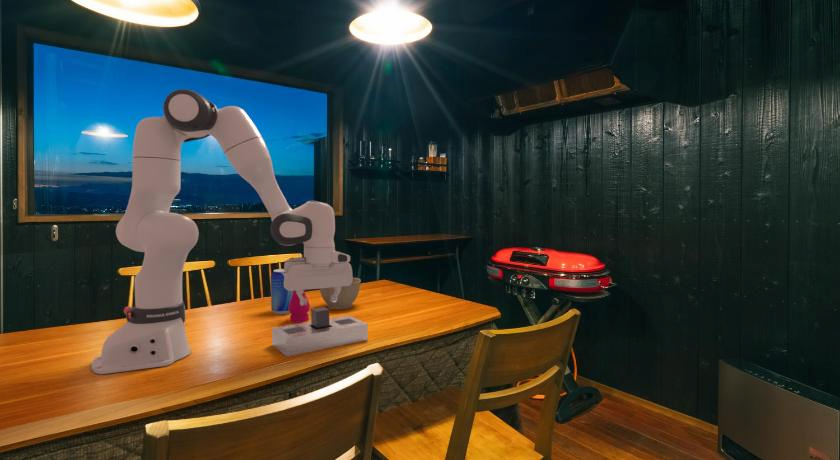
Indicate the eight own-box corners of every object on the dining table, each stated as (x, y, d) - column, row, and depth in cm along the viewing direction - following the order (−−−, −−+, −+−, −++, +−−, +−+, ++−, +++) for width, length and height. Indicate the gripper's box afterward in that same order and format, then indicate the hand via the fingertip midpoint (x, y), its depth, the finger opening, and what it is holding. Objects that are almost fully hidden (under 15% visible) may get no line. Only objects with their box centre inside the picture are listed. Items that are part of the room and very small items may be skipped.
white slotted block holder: (286, 356, 123) (286, 338, 122) (272, 344, 132) (272, 328, 132) (367, 340, 137) (367, 323, 137) (349, 330, 147) (349, 315, 147)
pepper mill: (304, 323, 156) (303, 265, 154) (285, 322, 157) (283, 264, 156) (313, 317, 163) (312, 262, 161) (294, 316, 164) (293, 262, 163)
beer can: (299, 311, 172) (298, 269, 171) (282, 316, 165) (281, 272, 164) (284, 308, 176) (283, 267, 175) (266, 313, 169) (265, 270, 168)
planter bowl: (357, 312, 171) (357, 283, 170) (314, 312, 171) (314, 283, 170) (363, 302, 187) (363, 276, 186) (324, 302, 187) (323, 276, 186)
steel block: (316, 345, 132) (316, 311, 131) (311, 341, 135) (311, 308, 135) (329, 342, 134) (329, 309, 134) (324, 339, 138) (323, 307, 137)
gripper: (287, 259, 124) (287, 309, 125) (355, 256, 136) (354, 301, 136) (280, 257, 129) (280, 305, 130) (346, 254, 141) (345, 298, 142)
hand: (318, 303), depth 133 cm, fingers open, 8 cm apart
